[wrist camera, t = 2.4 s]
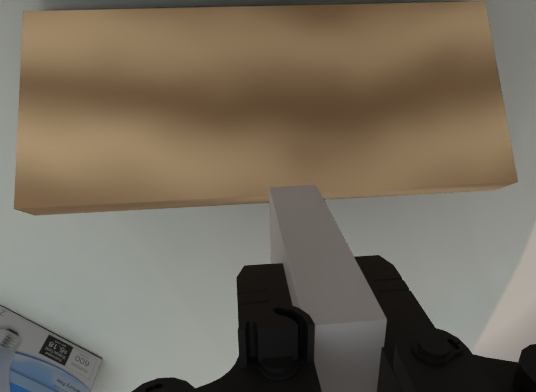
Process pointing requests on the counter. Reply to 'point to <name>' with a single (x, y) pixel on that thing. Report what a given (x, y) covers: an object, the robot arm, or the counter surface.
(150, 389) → the robot arm
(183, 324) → the counter surface
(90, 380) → the light bulb box
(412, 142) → the oak plank
